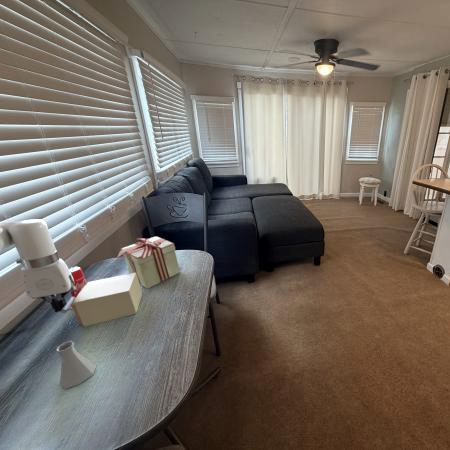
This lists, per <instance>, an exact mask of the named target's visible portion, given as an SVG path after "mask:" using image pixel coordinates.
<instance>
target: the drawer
mask: <svg viewBox="0 0 450 450" xmlns="http://www.w3.org/2000/svg"><path fill="white" fill-rule="evenodd" d="M84 288H85V286H84V287H83V289H84ZM83 289H82V290H83ZM82 290H81V291H80V293H81V292H82ZM80 293H79V294H78V296H79V295H80ZM78 296H77V297H76V298H75V297H72V296H71V297H70V298H69V300H68V301H66V303H67V304H66V305H65V306H64V308H63V309H62V310H61V311H60V313H62V314H66V313H67V312H68V311H73V314H74V316H75V318H76V320H77V322H78V325H83V323H82V321H81V318H80V316H79V314H78V311H77V309H76V307H75V305H74V302H75V300H76V299H77V298H78Z"/></svg>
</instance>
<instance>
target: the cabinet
mask: <svg viewBox="0 0 450 450" xmlns="http://www.w3.org/2000/svg"><path fill="white" fill-rule="evenodd" d="M142 297H143V290H142V287H141V285H140V284H139V280H138V277H137V274H136V273H131V274H130V273H125V274H120V275H116V276H111V277H105V278H100V279H96V280H90V281H87V285H86V286H85V288H84V289H83V290H82V292H81V293H80V295H79V296H78V298H77V299H76V300H75V302H74V305H75V307H76V309H77V311H78V314H79V316H80V318H81V321H82V323H83V324H82V325H83V327H84V328H85V327H86V328H87V327H89V326H92V325H97V324H101V323H105V322H109V321H112V320H117V319H121V318H126V317H129V316H132V315H136V314H137V313H138V309H139V307H140V303H141V300H142Z"/></svg>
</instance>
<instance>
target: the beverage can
mask: <svg viewBox="0 0 450 450" xmlns="http://www.w3.org/2000/svg"><path fill="white" fill-rule="evenodd" d="M68 268H69V270H70V272H71V274H72V277H73V279H74V286H75V287H76V290H75V291H73V292H71V293H70V294H71V297H75V298H76V297H77V296H78V294H79V293H80V291H81V290H82V289H83V287H84V286H86V285H87V283H88V281H87V279H86V278H85V277H86V276H85V275H84V272H83V270H82V268H81V267H80V266H72V267H68Z"/></svg>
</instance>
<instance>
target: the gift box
mask: <svg viewBox="0 0 450 450" xmlns="http://www.w3.org/2000/svg"><path fill="white" fill-rule="evenodd" d="M135 241H138V242H136V243H133V244H130V245H127V246H125V247H122V248H120V251H119V253H118V255H117V257H116V258H117V259H119V258H121V257H122V256H123V257H124V260H125V263H126V264H125V265H126V266H127V270H128V272H129V273H128V274H131V273H136V274H137V277H138V280H139V284H140V286H142V287H143V288H145V289H147V290H148V289H151V288H152V287H155V286H156V285H158V284H160V283H162V282H164V281H166V280H168V279H170V278H172V277H175V276H176V275H178V274H180V273H181V270H180V266H179V263H178V258H177V255H176V246H175V243H174V242H171V241H169V240H166V239H165V238H161V237H159V236H153V237H150V238H135Z"/></svg>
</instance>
